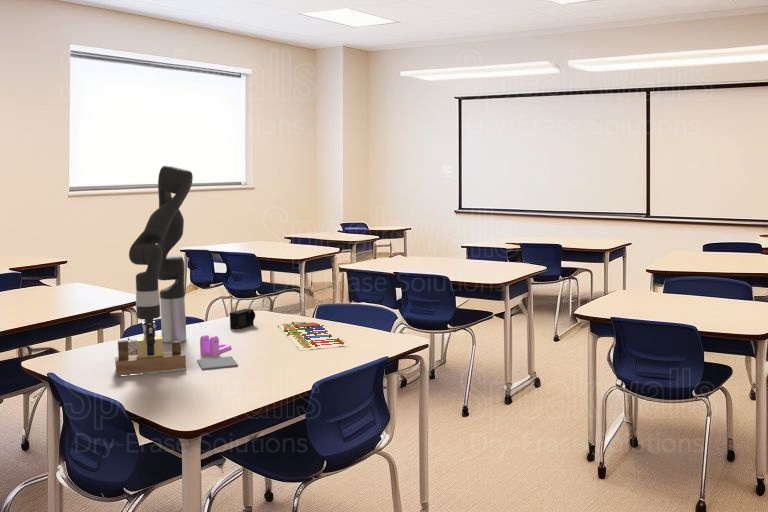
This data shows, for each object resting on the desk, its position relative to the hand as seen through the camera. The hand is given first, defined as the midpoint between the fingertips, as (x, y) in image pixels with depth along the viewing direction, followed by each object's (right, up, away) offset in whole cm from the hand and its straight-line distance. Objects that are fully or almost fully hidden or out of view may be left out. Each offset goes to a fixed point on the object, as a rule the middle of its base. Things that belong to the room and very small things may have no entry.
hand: (150, 353), depth 247 cm
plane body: (0, -6, +1) cm, 6 cm away
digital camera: (+18, +2, +66) cm, 69 cm away
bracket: (+17, -3, +27) cm, 31 cm away
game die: (-10, -5, +13) cm, 17 cm away
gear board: (+49, 0, +51) cm, 70 cm away
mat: (+20, -5, +9) cm, 23 cm away
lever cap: (0, -1, 0) cm, 1 cm away
